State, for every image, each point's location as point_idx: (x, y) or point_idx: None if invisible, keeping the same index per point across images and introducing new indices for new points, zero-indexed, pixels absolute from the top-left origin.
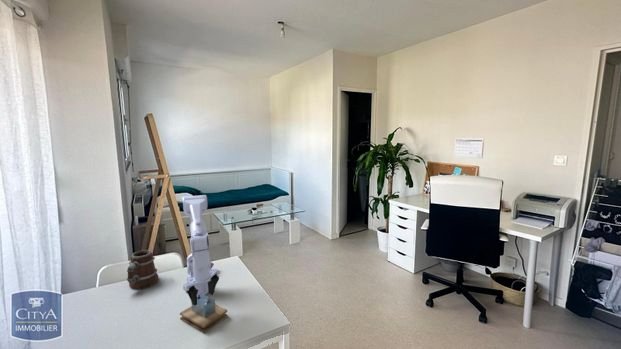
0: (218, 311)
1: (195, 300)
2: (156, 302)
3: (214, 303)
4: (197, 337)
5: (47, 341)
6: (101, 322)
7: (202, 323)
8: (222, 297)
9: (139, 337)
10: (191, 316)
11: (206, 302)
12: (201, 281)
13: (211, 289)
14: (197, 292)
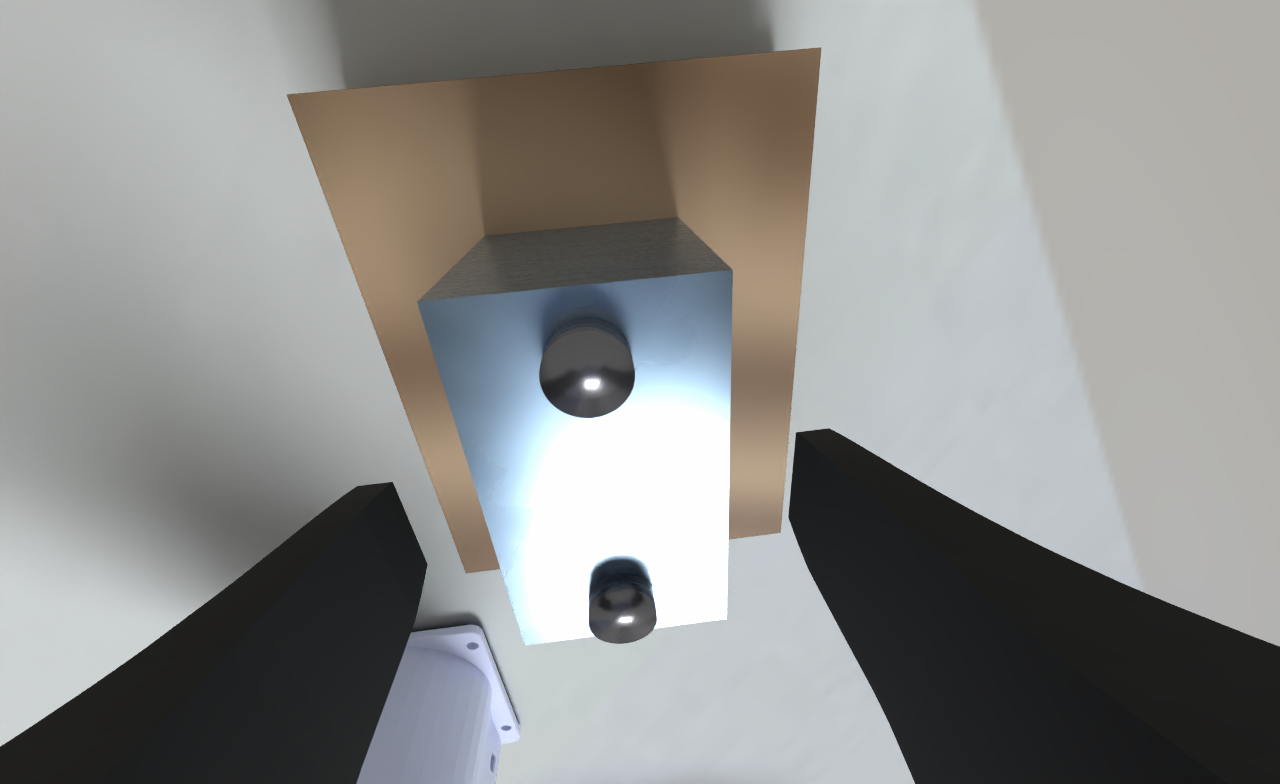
0: (442, 197)
1: (925, 490)
2: (723, 729)
3: (455, 276)
4: (866, 64)
5: None
6: None
7: (779, 135)
8: (258, 499)
9: (1044, 504)
10: (756, 397)
11: (628, 351)
12: None
13: (331, 624)
14: (1170, 736)
